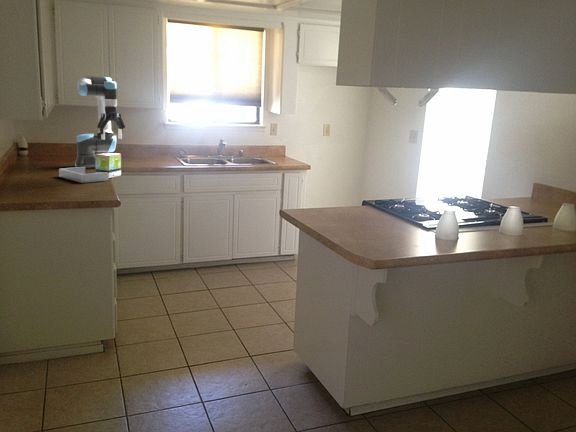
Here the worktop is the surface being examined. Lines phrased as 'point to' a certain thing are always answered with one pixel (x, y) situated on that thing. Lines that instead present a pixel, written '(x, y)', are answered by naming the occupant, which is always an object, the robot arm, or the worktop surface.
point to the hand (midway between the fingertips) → (111, 139)
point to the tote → (82, 175)
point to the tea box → (109, 164)
